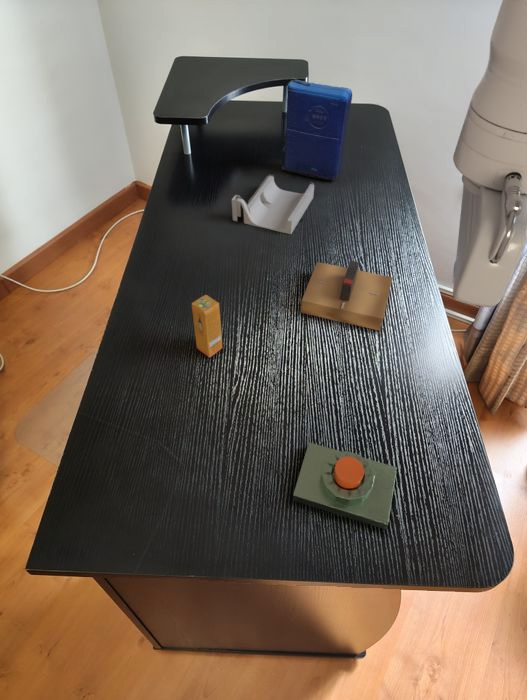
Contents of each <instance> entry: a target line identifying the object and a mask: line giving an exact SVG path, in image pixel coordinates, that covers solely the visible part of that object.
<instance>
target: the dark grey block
mask: <svg viewBox="0 0 527 700" xmlns="http://www.w3.org/2000/svg"><path fill="white" fill-rule="evenodd" d="M359 265H360V262H359V261H355V260H350V261H349V263H348V266H347V268H348V269H347V272H346V275H345V278H344V281H343V284H342V289H341V295H340V299H341V300H346V301H349V299H350V296H351V293H352V290H353V287H354V284H355V280H356V277H357V272H358V270H359Z"/></svg>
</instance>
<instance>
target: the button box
mask: <svg viewBox="0 0 527 700" xmlns="http://www.w3.org/2000/svg"><path fill="white" fill-rule="evenodd" d="M343 457H353V458H355V459H357V460H358V461H360V463H361V464H362V465H363V468H364V475H363V478H362V481H361V483H360V485H359V486H358V487H356V488H354V489H345V488H342V487H340V486H339V485H338V484H337V483H336V481H335V479H334V475H333V474H334V469H335V465H336V463H337V461H338V460H339V459H341V458H343ZM397 469H398V466H394V465H391V464H387V463H384V462H380V461H376V460H373V459H370V458H366V457H363V456H362V455H361V454H358V453H354V452H351V451H348V450H343V451H341V450H338V449H334V448H331V447H327V446H325V445H324V446H323V445H321V444H320V445H319V444H316V443H313V442H308V443H307V447H306V450H305V454H304V457H303V460H302V463H301V468H300V469H299V470H300V471H299V474H298V478H297V481H296V484H295V487H294V491H293V494H292V501H293V502H296V503H299V504H301V505H302V504H303V505H304V506H309V507H312V508H315V509H318V510H321V511H325V512H327V513H331V514H334V515H338V516H341V517H344V518H346V519H350V520H354V521H356V522H359V523H362V524H363V523H364V524H367V525H370V526H373V527H376V528H379V529H382V530H386V529H387V527H388V525H389V520H390V515H391V509H392V502H393V495H394V490H395V482H396V477H397Z"/></svg>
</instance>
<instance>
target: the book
mask: <svg viewBox="0 0 527 700" xmlns="http://www.w3.org/2000/svg"><path fill="white" fill-rule="evenodd" d="M286 92H287V93H286V94H287V95H286V115H285V118H286V119H285V134H284V135H285V136H284V137H285V144H284V146H283V149H282V154H281V170H283V171H285V172H288V173H293V174H297V175H300V176H304V177H307V178H308V177H309V178H315V179H320V180H325V181H337V180H338V178H339V177H340V176H341V173H342V168H343V163H344V157H345V155H344V154H345V149H346V141H347V133H348V127H349V121H350V113H351V107H352V100H353V91H352V89H351V88H348V87H344V86H333V85H328V84H321V83H314V82H309V81H306V80H305V81H304V80H299V79H293V80H290V81H289V82H288V83H287V85H286Z"/></svg>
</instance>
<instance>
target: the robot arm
mask: <svg viewBox="0 0 527 700" xmlns="http://www.w3.org/2000/svg"><path fill="white" fill-rule="evenodd" d="M489 40H490V41H489V53H488V61H487V62H488V63H487V65H486V69H485V71H484V74H483V76H482V77H481V80H480V81H479V83H478V84H477V86H476V88H475V89H474V91H473V93H472V95H471V97H470V98H471V99H470V102H469V104H468V107H467V111H466V114H465V118H464V120H463V124H462V128H461V130H460V133H459V136H458V139H457V143H456V145H455V149H454V152H453V157H452V160H453V164H454V166H455V168H456V169H457V171H459V172H460V174H461V175H462V176H461V183H462V196H461V205H460V206H461V207H460V214H459V215H460V217H459V228H458V237H457V245H456V256H455V261H454V263H453V273H452V284H453V285H452V286H453V287H452V298H453V299H454V300H455V301H457V302H459V303H463V304H468V305H473V306H478V307H483V308H493V307H495V306H497V305H498V304H499V303H500V302H501V301H502V299H503V297H504V295H505V293H506V290H507V289H508V286H509V284H510V282H511V280H512V277H513V276H514V273H515V271H516V268H517V266H518V264H519V262H520V260H521V257H522V254H523V252H524V249H525V246H526V244H527V0H502V1H501V4H500V7H499V10H498V13H497V16H496V19H495V22H494V25H493V29H492V31H491V35H490V39H489Z"/></svg>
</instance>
